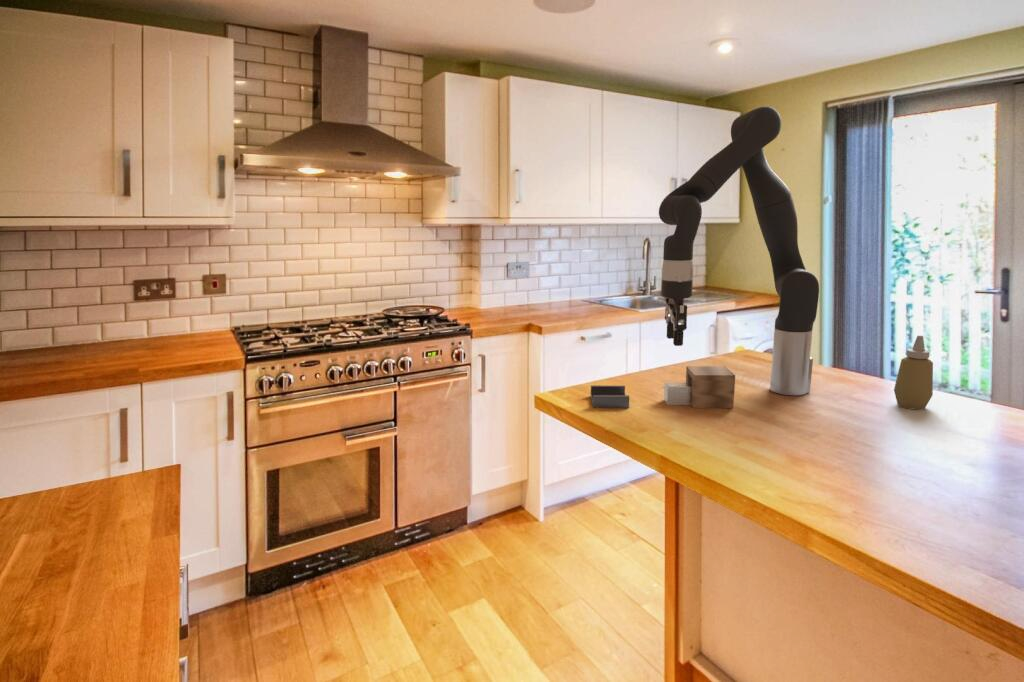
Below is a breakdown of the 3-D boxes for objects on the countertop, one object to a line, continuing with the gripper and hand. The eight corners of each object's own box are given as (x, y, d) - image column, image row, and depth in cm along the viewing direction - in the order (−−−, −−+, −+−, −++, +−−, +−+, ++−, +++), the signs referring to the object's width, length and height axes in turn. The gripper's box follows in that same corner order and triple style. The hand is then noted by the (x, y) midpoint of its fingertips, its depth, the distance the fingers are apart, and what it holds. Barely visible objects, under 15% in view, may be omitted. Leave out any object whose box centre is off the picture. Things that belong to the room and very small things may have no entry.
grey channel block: (624, 396, 164) (624, 385, 163) (629, 408, 154) (629, 396, 153) (590, 396, 164) (590, 385, 164) (593, 407, 155) (593, 396, 154)
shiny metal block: (706, 400, 160) (707, 382, 159) (710, 405, 156) (711, 386, 155) (663, 400, 160) (664, 382, 159) (667, 405, 156) (667, 386, 155)
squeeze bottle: (936, 412, 147) (946, 339, 144) (900, 410, 149) (908, 338, 145) (921, 402, 155) (931, 333, 151) (887, 400, 157) (895, 332, 153)
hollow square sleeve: (723, 397, 162) (725, 366, 160) (733, 408, 153) (735, 375, 151) (685, 397, 162) (686, 366, 160) (692, 407, 153) (694, 375, 152)
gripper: (656, 275, 158) (654, 336, 162) (667, 281, 144) (664, 348, 148) (685, 274, 158) (683, 336, 161) (699, 281, 144) (696, 348, 147)
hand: (674, 341), depth 155 cm, fingers open, 8 cm apart
